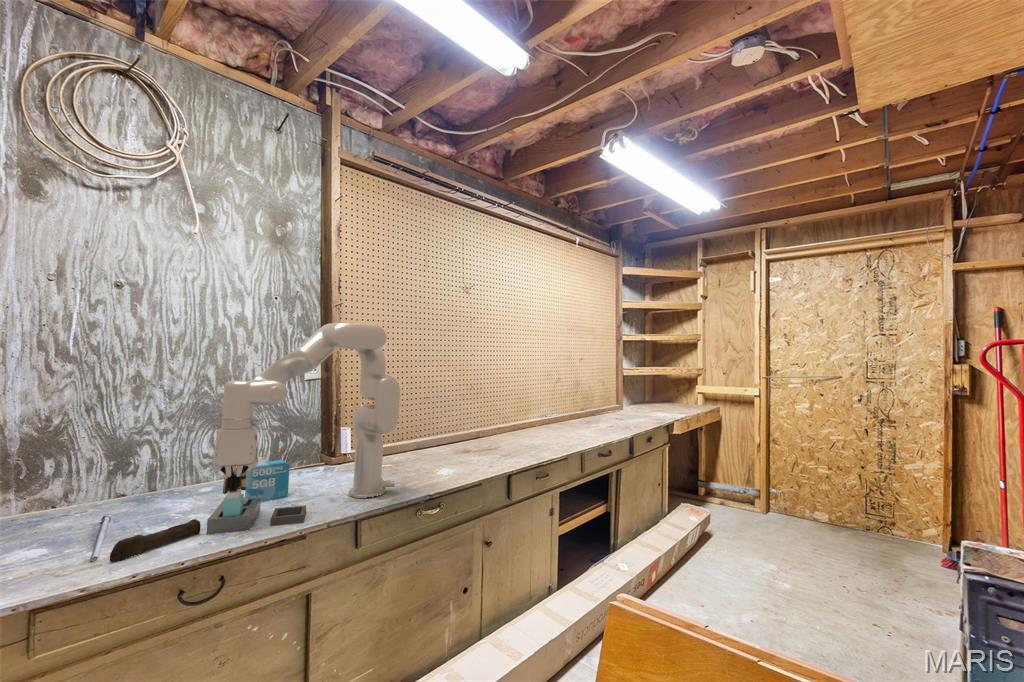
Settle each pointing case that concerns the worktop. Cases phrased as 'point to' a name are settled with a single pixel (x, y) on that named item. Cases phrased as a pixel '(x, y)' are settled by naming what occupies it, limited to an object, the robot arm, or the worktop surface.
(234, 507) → the plug
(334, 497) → the worktop surface
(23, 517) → the worktop surface
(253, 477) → the data package
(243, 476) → the ammunition clip
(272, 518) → the dark square frame
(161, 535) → the hand tool
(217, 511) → the port
